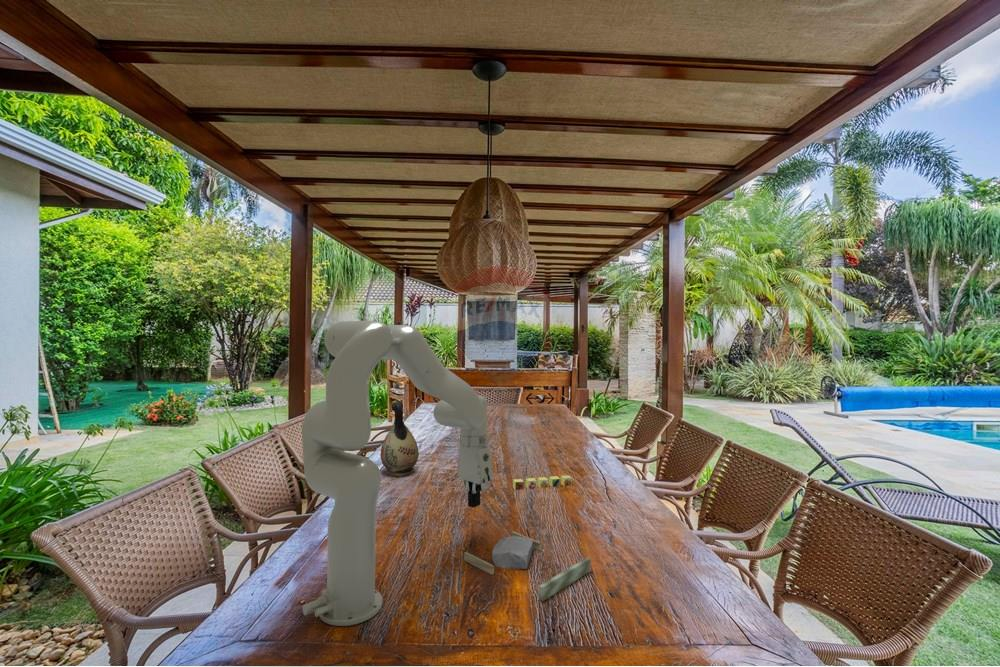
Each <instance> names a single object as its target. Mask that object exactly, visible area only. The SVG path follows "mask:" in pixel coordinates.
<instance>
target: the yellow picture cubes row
mask: <svg viewBox="0 0 1000 667" xmlns="http://www.w3.org/2000/svg"><path fill="white" fill-rule="evenodd" d="M561 485H562V486H564V487H566V486H573V477H571V476H570V475H560V477H559V476H556V475H555V476H553V475H552V476H549V477H548V478H547V477H546V476H544V477H543V476H542V477H537V480H536V478H535V477H529V478H525V482H524V480H523V479H522V478H516V479H513V480H512V487H513V489H514V490H515V491H520V490H524V488H525V487H526V488H527V489H528V490H531V489H537V486H538V487H539V488H540V489H543V488H544V489H545V488H549V486H551V488H555V487H561Z"/></svg>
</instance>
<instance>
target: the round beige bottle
mask: <svg viewBox="0 0 1000 667" xmlns="http://www.w3.org/2000/svg"><path fill="white" fill-rule="evenodd" d="M403 408H404V404H403V402H400V401H396V402H394V403H392V405H391V410H392V412H393V411H394V420H393V424H392V426H391V427H390V429H389V430H388V432H387V434H386V435H385V437H384V439H383V441H382V444H381V448H380V455H379V456H380V461H381V464H382V465H383V466H384V467H385V469H386V470H387V471H388V473H389V475H390V476H394V477H395V476H396V477H402V476H406V475H409V474H412V472H413V468H414V467H415V466H416V464H417V462H418V460H419V453H420V452H419V446H418V443H417V440H416V439H415V436H414V435H413V434H412V432H411V430H409V427H408V426H407V425H406V424H405V421H404V412H403V411H404V410H403Z"/></svg>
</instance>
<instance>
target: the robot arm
mask: <svg viewBox="0 0 1000 667" xmlns="http://www.w3.org/2000/svg"><path fill="white" fill-rule="evenodd" d="M326 330H327V331H326V333H325V334H324V339H323V340H324V346H325V349H326V350H327V352H328V353H329V354H330V355H332V356H333V357H334V359H333V361H332V362H331V364H330V366H329V368H328V370H327V374H326V380H325V400H323V401H319V402H316V403H315V404H313V405H312V406H311V407H310V408H309V409H307V411H306V413H305V415H304V418H303V421H302V424H301V444H302V445H301V446H302V447H301V448H302V460H303V471H304V477H305V482H306V483H307V485H308V487H309V488H310V489H311V490H312V491H314V492H315V493H318V494H319V495H323V496H326V497H329V498H331V499H332V500H334V504H333V505H334V506H333V507H332V508H333V509H332V511H331V512H330V514H329V518H328V522H327V523H328V524H327V554H326V555H327V556H326V557H327V566H326V567H327V571H326V572H327V575H326V588H324V589H322V591H321V596H318V597H317V599H316V600H314V601H310V602H307V603H305V604H303V605H302V614H303V615H304V616H307V615H310V614H312V613H314V616H315V617H316V618H318V617H319V619H320V620H321V621H322V622H324V623H326V624H328V625H331V626H335V627H336V626H337V627H346V626H354V625H358V624H361V623H363V622H366V621H368V620H370V619H371V618H373V617H374V616H376V615H377V614H378V612H380V611H381V608H382V606H383V596H382V594H381V593H380V592H379V591H378V590H377V589H376V530H377V528H376V526H377V524H376V520H377V506H378V501H379V500H378V499H379V494H380V489H381V485H382V475H381V474H382V473H381V470H380V468H379V466H378V465H377V463H375V462H374V460H373V461H372V459H370V458H368V457H366V456H363V455H359V454H354V453H351V452H355V451H359V450H362V449H363V448H365V446H366V445H367V444H368V442H369V441H370V439H371V438H370V437H371V433H372V424H371V422H372V421H371V407H370V406H371V405H370V404H371V403H370V379H371V376H372V374H373V371H374V369H375V368H376V366H377V365H378V364H379V362H380V361H381V360H389V361H394V362H396V363H397V364H398V366H399V367H400V369H402V371H403V372H404V373H405V375H406V376H407V377H408V379H409V380H410V382H411V383H412V384H413V386H414V388H416V389H418V390H419V391H421V392H423V393H424V394H427V395H428V396H432V397H434V398H436V399H439V401H437V403H436V404H435V405H434V409H433V412H432V413H433V417H434V419H435V421H436V422H437V423H438V424H440V425H441V426H444V427H450V428H457V429H459V430H460V432H459V433H460V435H459V436H460V440H459V442H460V443H459V446H458V454H457V456H458V457H457V474H458V477H459V480H460V481H461V482H462V483H463V484H464V486H465V489H466V490H465V491H466V492H467V506H468V507H470V508H475V507H478V506H481V492H482V491H483V490H485V489H486V490H487V489H489V488H490V485H489V482H492V481H493V478H494V477H493V475H494V474H493V462H492V461H493V460H492V454H491V453H492V452H491V448H490V446H489V445H488V444H489V439H488V401H487V398H486V397H485V396H483V395H478V394H477V392H476V391H475V390H474V388H473V387H472V386H471V385H470V384H469V383H468V382H466V381H465V380H463V379H462V378H460V377H459V376H458V375H456V374H455V373H454V372H453V371H451V370H450V369H448V368H446V367H445V366H444V365H443V364H442V362H441V360H440V359H439V357H438V356H437V355H436V352H434V350H433V349H432V348H431V346H430V344H429V343H428V342H427V340H426V338H425V337H424V335H423V334H422V333H421V332H420V330H419V329H418V328H416V327H415V326H412V325H408V324H387V323H384V322H382V321H377V320H347V321H346V320H345V321H344V320H343V321H337V322H336V323H333V324H332V325H330V326H329V327H328V328H327V329H326ZM347 451H348V452H347Z"/></svg>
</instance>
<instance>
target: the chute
mask: <svg viewBox="0 0 1000 667" xmlns="http://www.w3.org/2000/svg"><path fill="white" fill-rule="evenodd" d="M511 536H517V537H522V538H527V539H533V538H531V537H528V536H526V535H523V534H521V533H519V532H517V531H511ZM533 550H536V551H539V552H540V551H541V550H542V542H540V541H539V540H536V539H533ZM463 554H464V556H463V561H464V562H466V563H468V564H470V565H472V566H474V567H476V568H478V569H479V570H481V571H483V572H485V573H487V574H489V575H490V576H493V575H494V574H495V565H493V563H489V562H488V561H486V560H484V559H481V557H478V556H475V555H474V554H473V553H470V552H467V551H465V552H463ZM590 572H591V558H590V557H585V558H583V559H582V560H580V561H579V562H577V563H575V564H574V565H572V566H570V567H568V568H566V569H564V570H563V571H562V572H560V573H558V574H557V575H555V576H553V577H551V578H550V579H548V580H547V581H544V583H541V584H540V585H539V586H538V601H541V602H544V601H546V600H547V599H549V598H551V597H552V596H554V595H556V594H557V593H559V592H560V591H562V590H563V589H565V588H566V587H568V586H569V585H571V584H572V583H574V582H576V581H578V580H579V579H581V577H584V576H586V574H589V573H590Z"/></svg>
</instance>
